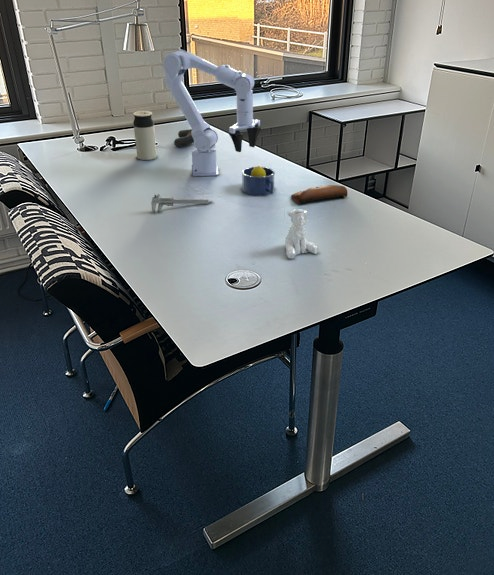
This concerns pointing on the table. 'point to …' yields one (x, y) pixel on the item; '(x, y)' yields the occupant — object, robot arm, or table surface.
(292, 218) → the sitting furry creature
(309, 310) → the table surface
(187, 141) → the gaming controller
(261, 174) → the lemon
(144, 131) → the travel mug
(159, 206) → the caliper
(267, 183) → the blue mug
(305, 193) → the sunglasses case
